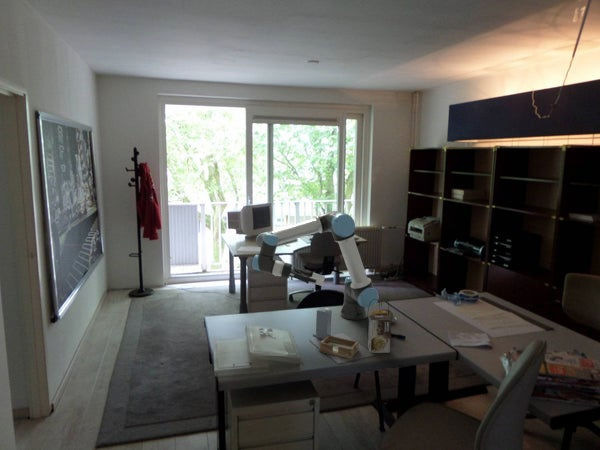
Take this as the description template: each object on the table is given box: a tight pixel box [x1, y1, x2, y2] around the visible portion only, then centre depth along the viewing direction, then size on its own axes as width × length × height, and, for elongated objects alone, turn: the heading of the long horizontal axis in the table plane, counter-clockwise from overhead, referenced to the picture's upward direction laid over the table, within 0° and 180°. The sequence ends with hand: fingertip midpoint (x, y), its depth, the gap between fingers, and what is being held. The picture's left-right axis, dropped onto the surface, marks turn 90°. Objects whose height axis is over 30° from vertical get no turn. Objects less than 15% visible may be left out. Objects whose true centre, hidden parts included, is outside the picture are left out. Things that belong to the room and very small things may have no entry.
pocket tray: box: [318, 335, 359, 359], centre depth 195 cm, size 10×16×4 cm
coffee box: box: [367, 314, 392, 354], centre depth 196 cm, size 9×6×16 cm
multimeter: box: [366, 297, 394, 339], centre depth 210 cm, size 15×10×20 cm
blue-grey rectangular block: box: [312, 307, 333, 340], centre depth 211 cm, size 5×10×15 cm, turn 64°
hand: (323, 280), depth 208 cm, fingers open, 13 cm apart
